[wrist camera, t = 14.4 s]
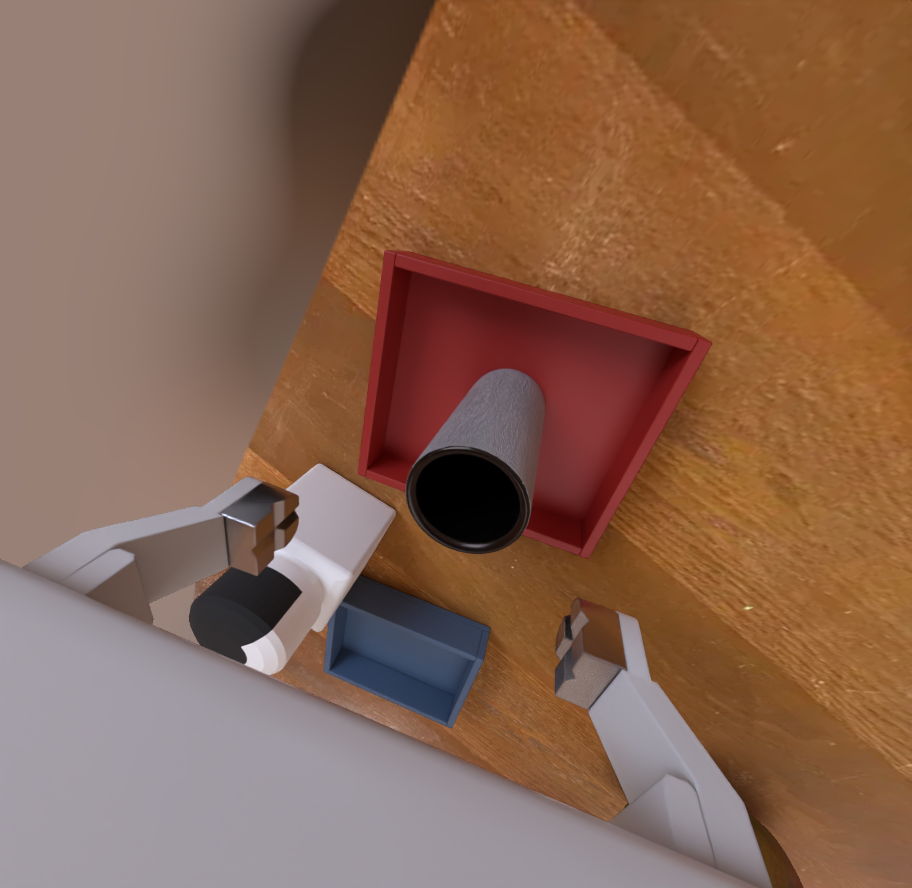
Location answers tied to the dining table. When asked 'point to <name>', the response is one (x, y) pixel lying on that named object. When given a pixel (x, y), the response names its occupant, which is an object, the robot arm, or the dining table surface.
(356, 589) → the blue tray
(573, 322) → the red tray
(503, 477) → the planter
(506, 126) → the dining table surface
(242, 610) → the medicine bottle
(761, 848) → the fruit
